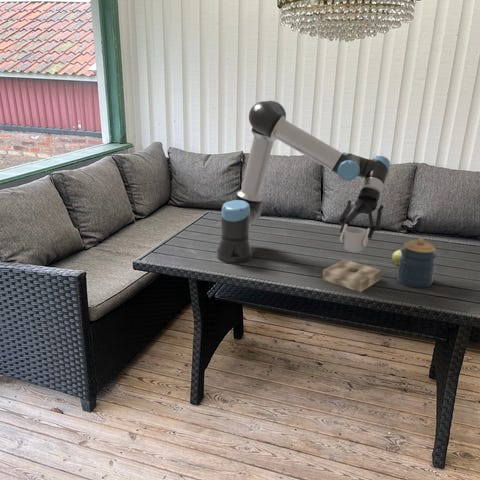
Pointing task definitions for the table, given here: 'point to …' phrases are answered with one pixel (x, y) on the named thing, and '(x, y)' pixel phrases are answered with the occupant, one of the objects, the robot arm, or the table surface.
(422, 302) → the table surface
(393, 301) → the table surface
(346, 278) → the opening block
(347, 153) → the robot arm
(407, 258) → the canister
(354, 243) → the cup
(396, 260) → the tennis ball
